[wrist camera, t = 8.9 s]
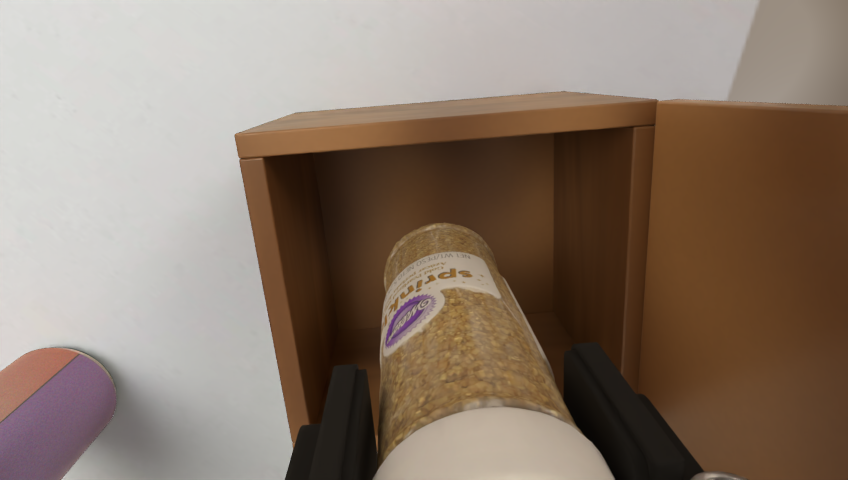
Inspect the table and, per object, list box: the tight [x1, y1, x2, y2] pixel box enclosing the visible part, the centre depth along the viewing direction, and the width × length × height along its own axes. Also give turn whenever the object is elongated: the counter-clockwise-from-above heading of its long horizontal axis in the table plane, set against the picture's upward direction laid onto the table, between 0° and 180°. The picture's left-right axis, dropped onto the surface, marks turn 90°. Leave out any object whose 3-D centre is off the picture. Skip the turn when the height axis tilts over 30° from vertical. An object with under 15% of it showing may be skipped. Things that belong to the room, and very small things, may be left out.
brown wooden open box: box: [235, 91, 659, 452], centre depth 23 cm, size 14×13×10 cm
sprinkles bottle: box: [373, 223, 615, 480], centre depth 14 cm, size 5×5×14 cm
